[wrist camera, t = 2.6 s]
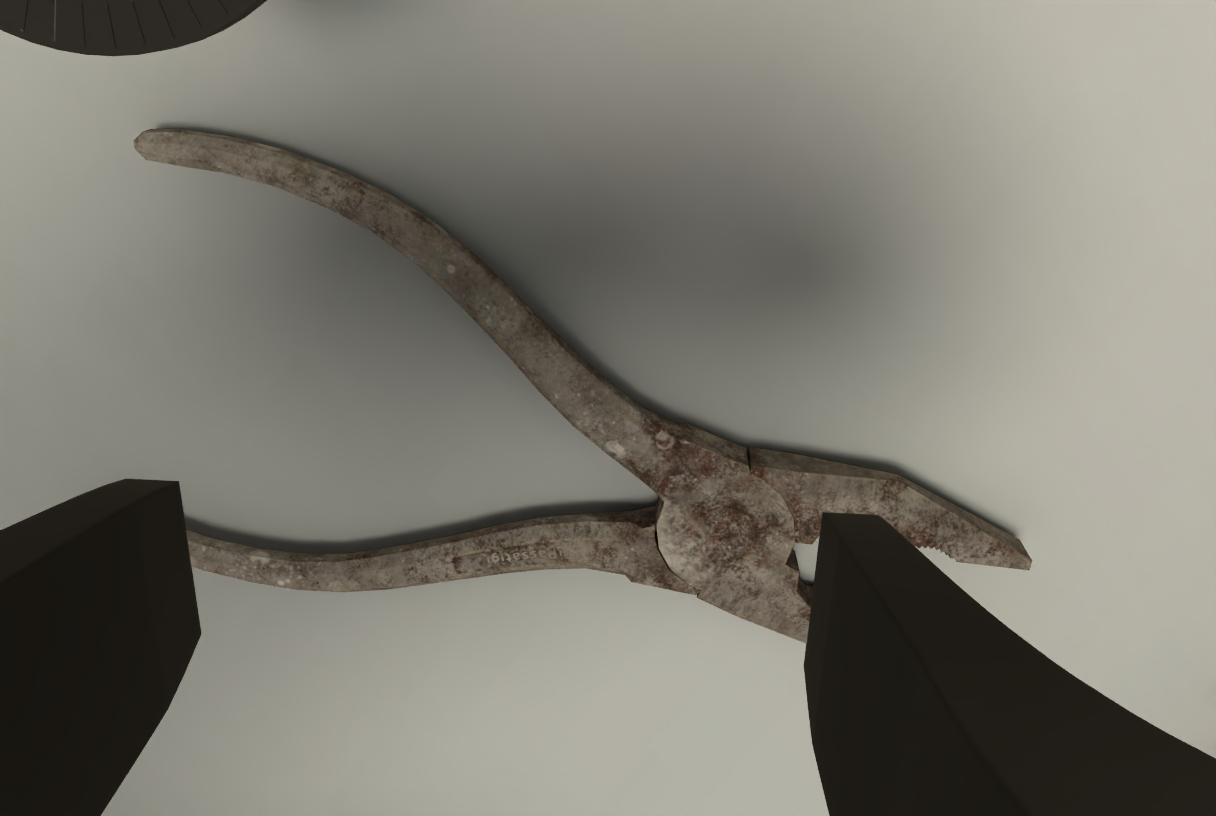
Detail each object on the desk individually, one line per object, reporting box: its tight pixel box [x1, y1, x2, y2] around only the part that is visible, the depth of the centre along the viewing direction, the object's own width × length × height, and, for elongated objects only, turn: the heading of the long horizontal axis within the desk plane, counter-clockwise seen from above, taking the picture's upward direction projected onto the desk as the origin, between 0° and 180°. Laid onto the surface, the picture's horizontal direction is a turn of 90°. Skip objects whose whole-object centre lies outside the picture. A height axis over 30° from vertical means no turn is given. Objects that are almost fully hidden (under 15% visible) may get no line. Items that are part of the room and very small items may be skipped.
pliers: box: [134, 129, 1032, 644], centre depth 22 cm, size 10×1×20 cm
